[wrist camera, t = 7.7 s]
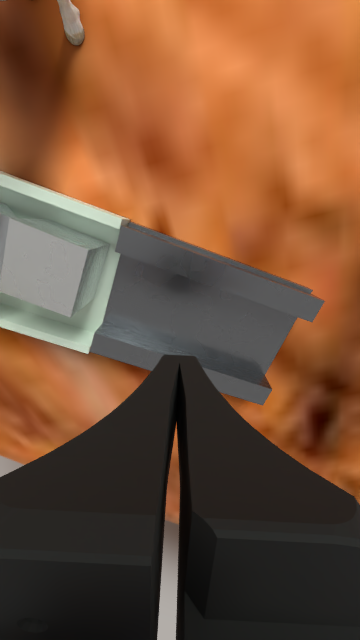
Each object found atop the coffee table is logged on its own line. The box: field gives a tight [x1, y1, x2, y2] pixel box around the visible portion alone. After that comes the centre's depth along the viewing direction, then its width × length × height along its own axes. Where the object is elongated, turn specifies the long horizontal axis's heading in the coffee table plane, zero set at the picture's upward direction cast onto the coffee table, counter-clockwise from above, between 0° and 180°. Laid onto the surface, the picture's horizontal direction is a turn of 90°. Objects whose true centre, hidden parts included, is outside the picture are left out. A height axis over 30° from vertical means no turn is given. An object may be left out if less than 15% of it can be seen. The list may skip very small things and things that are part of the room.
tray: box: [0, 171, 130, 354], centre depth 16 cm, size 11×9×2 cm
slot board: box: [90, 222, 324, 405], centre depth 17 cm, size 13×9×3 cm
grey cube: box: [0, 218, 110, 318], centre depth 15 cm, size 4×4×4 cm
